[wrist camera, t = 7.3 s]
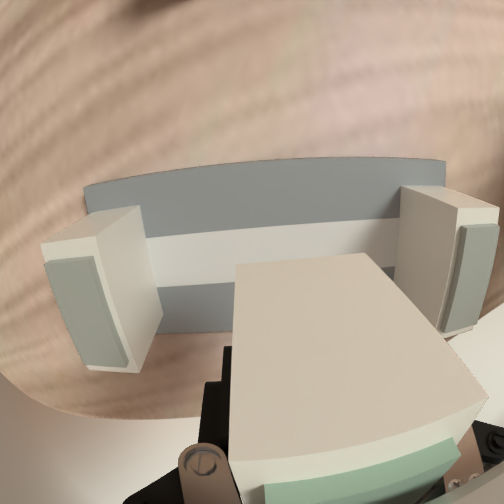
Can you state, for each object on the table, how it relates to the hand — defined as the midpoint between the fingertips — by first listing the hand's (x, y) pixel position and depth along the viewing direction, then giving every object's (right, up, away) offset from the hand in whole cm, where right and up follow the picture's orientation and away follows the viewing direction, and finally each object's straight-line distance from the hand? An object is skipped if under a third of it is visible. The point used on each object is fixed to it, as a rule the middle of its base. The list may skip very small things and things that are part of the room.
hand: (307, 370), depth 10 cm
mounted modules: (0, +4, +11) cm, 12 cm away
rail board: (0, +5, +12) cm, 13 cm away
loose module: (0, 0, +1) cm, 1 cm away
